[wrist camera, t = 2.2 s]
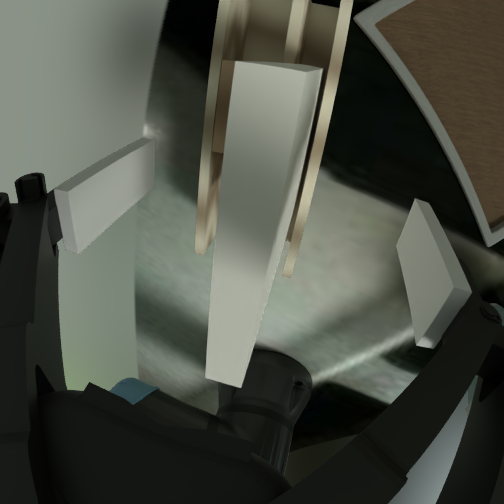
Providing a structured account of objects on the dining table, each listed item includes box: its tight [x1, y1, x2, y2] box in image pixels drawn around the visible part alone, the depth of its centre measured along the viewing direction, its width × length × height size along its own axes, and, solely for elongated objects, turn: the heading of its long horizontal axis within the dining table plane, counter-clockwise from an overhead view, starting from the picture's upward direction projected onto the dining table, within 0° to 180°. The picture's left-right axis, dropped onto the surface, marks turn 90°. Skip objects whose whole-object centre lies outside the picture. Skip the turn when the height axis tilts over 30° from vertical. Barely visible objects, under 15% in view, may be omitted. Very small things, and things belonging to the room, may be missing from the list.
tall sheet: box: [205, 61, 324, 388], centre depth 19 cm, size 12×2×22 cm, turn 172°
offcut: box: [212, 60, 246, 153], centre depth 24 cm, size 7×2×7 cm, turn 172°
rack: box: [195, 0, 353, 278], centre depth 26 cm, size 24×9×7 cm, turn 172°
